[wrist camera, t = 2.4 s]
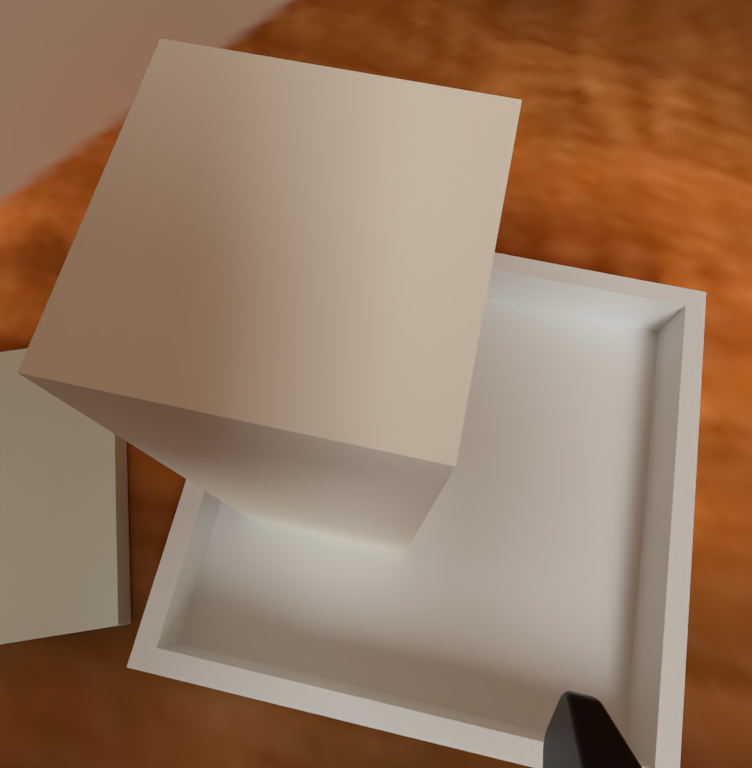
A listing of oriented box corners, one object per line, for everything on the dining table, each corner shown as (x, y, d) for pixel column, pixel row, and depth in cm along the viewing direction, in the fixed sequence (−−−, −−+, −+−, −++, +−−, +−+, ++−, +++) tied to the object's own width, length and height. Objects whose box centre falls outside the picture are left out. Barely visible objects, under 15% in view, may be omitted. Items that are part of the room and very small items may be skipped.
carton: (405, 552, 19) (456, 467, 7) (245, 516, 19) (16, 373, 7) (436, 393, 21) (523, 90, 8) (288, 363, 21) (163, 29, 9)
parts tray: (637, 775, 18) (677, 803, 15) (158, 658, 19) (126, 667, 16) (670, 325, 22) (706, 292, 20) (282, 250, 23) (271, 210, 21)
